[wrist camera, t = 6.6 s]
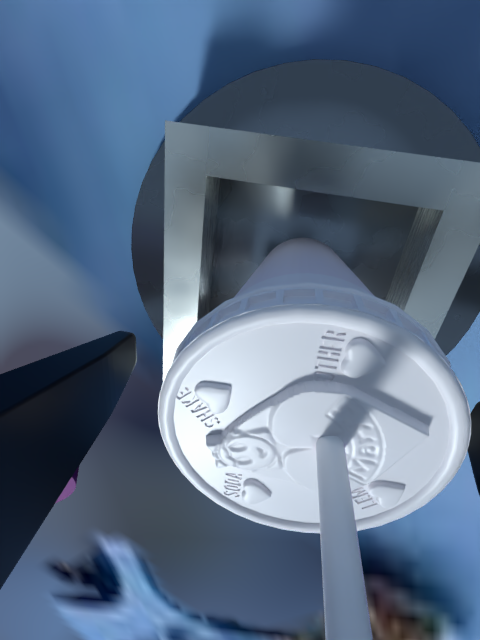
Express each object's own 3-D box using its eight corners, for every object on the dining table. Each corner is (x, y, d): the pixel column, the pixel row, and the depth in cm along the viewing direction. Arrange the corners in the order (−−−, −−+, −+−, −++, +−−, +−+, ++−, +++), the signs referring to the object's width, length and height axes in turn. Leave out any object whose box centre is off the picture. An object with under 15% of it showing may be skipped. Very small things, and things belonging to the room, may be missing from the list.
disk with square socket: (582, 90, 11) (664, 76, 9) (411, 429, 19) (428, 474, 17) (130, 39, 13) (86, 14, 10) (140, 374, 21) (117, 408, 18)
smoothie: (384, 324, 16) (666, 940, 4) (253, 348, 18) (147, 822, 5) (363, 184, 13) (1088, 682, 1) (212, 228, 15) (-170, 612, 3)
